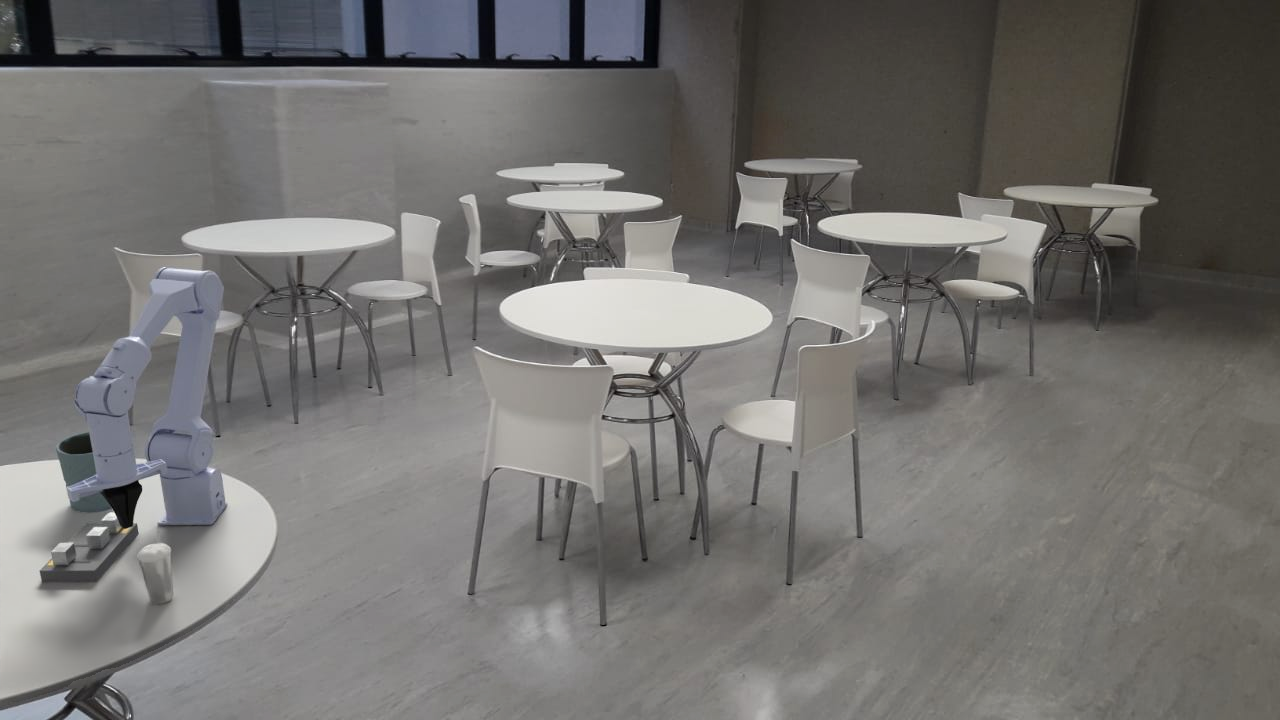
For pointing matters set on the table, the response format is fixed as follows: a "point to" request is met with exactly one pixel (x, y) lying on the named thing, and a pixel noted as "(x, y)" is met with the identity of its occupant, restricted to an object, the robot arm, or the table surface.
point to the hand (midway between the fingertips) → (126, 525)
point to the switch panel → (89, 556)
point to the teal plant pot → (80, 470)
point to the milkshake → (157, 571)
